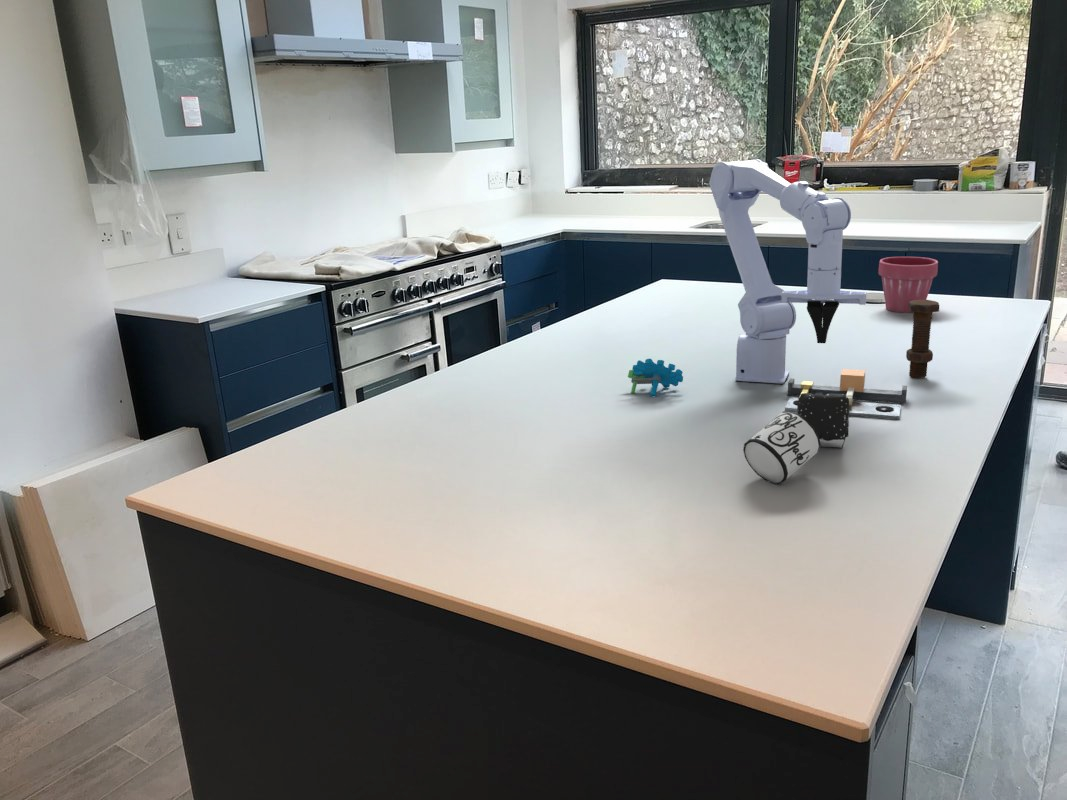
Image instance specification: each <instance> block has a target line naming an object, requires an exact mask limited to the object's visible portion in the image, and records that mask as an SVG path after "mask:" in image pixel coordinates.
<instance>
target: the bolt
mask: <svg viewBox="0 0 1067 800" xmlns="http://www.w3.org/2000/svg"><path fill="white" fill-rule="evenodd" d="M908 309H909V310H910V311H911V312H910V313H912V314H913V315H912V316H913V317H912V322H913V323H912V334H911V336H912V337H911V346H910V347H911V348H909V349H907V350H906V355H905V357H906V360H907V361H909V372H908V377H910V378H911V379H913V380H914V379H915V380H916V379H918V380H919V379H921V380H922V379H925V378H926V377H927V374H928V373H927V372H928V363H930V362H932V361H933V357H934V353H933V350H931V349H930V338H931V328H932V327H931V326H932V320H933V313H938V312H940V304H939V302H938V301H936V300H930V299H926V300H913V301H910V302H909V303H908Z"/></svg>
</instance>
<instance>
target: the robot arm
mask: <svg viewBox="0 0 1067 800" xmlns="http://www.w3.org/2000/svg"><path fill="white" fill-rule="evenodd" d="M708 183H709V184H708V185H709V188H710V191H711V193H712V197H713V200H714V203H715V205H716V208H717V209H718V214H719V218H720V220H721V224H722V227H723V229H724V233H725V235H726V237H727V242H728V244H729V247H730V250H731V253H732V256H733V259H734V262H735V264H736V267H737V271H738V273H739V276H740V279H741V282H742V286H743V288H744V292H745V293H744V295H742V297H741V298H740V300H739V301H738V304H737V307H738V310H739V317H740V318H739V319H740V321H739V322H740V325H741V329H742V330H743V332H744V333H741V334H739V335H738V338H737V343H736V356H735V357H736V361H735V363H736V365H735V367H736V370H735V381H736V382H737V381H738V382H751V383H764V384H767V383H768V384H780V385H781V384H785V382H786V380H787V378H788V377H789V374H790V371H789V370H786V355H787V354H786V353H787V350H786V349H787V335H790V329H792V328H793V327H794V326H795V324H796V320H797V311H796V308H795V306H794V303H795V304H797V303H799V304H804V303H805V304H807V305H806V311H807V314H808V315H809V317H810V319H811V321H812V324H813V325H812V326H813V328H814V330H815V331H814V332H815V334H816V335H815V336H816V343H817V344H826V343H827V338H828V333H829V329H830V327H831V323H832V321H833V319H834V316H835V314H836V311H837V310H838V307H839V306H840V304H845V305H846V304H849V305H850V304H852V305H853V304H854V305H856V304H857V305H862V306H863V305H866V304H867V294H868V293H867V291H851V290H841V285H842V284H841V283H842V282H841V279H842V261H843V260H842V258H843V255H842V254H843V236H844V235H843V234H844V232H843V231H844V230H845V229H847V228H848V227H849V225H850V222H851V219H852V211H851V208H850V205H849V204H848V202H847V201H846V200H844V199H843V197H834V198H829V197H828V196H827V195H826V193H824V192H823V191H822V192H821V191H820V192H818V191H817V190H815V189H814V188H812V187H810V186H809V185H810V183H809V182H807V181H805V180H803V181H801V180H800V181H795V182H792V183H790V182H789V181H787V180H786V179H785V178H783V177H782V176H780V175H778V173H776V172H775V171H773V170H772V169H771V168H770V167H769V165H768V163H767V162H764V161H762V160H761V159H758V158H754V159H750V160H749V159H748V160H747V159H746V160H739V161H738V160H736V161H735V160H734V161H718V162H717V163H716V164H715V165H714V166H713V168H712V171H711V175H710V178H709V182H708ZM761 193H765V194H766V195H769V196H771V197H772V198H774V199H776V200H778V201H779V206H780V207H781V209H782V211H784V212H786V213H788V215H791V216H793V217H794V218H795V219H797V220H799V221H800V222H801V224H802V227H803V229H804V231H805V241H806V242H807V244H808V248H807V249H808V250H807V251H808V254H807V282H806V283H807V285H806V289H805V290H784V289H783V288H781V287H779V286H778V285H776V284H774V282H773V280H772V278H771V275H770V272H769V269H768V267H767V264H766V261H765V258H764V256H763V252H762V250H761V247H760V244H759V240H758V238H757V234H756V232H755V229H754V225H753V224H752V221H751V218H750V215H749V210H750V208H751V207H752V206H754V205H755V204H756V201H757V200H758V197H759V196H760V194H761Z"/></svg>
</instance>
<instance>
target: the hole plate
mask: <svg viewBox="0 0 1067 800" xmlns="http://www.w3.org/2000/svg"><path fill="white" fill-rule="evenodd" d="M798 398H799V397H796V396H789V398H788V401H787V402H786V404H785V406H784V411H792V412H795V413H797V406H798ZM901 405H902V404H895V403H893V404H892V403H890V404H889V403H881V402H877V403H876V402H866V401H852V405H849V417H862V418H863V417H864V418H876V419H887V420H888V419H889V420H900V417H901V416H900V415H901V407H902V406H901Z"/></svg>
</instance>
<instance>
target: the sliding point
mask: <svg viewBox="0 0 1067 800" xmlns="http://www.w3.org/2000/svg"><path fill="white" fill-rule="evenodd" d="M839 378H840V379H839V387H840V390H841V391H847V394H846V396H847V397H848V399H849V405H852V402H853V400H852V398H853V393H854V391H856V392H863V389H865V384H866V383H865V382H866V381H865V380H866V369H852V368H851V369H850V368H849V369H848V368H842V369H841V372H840V377H839Z"/></svg>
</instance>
